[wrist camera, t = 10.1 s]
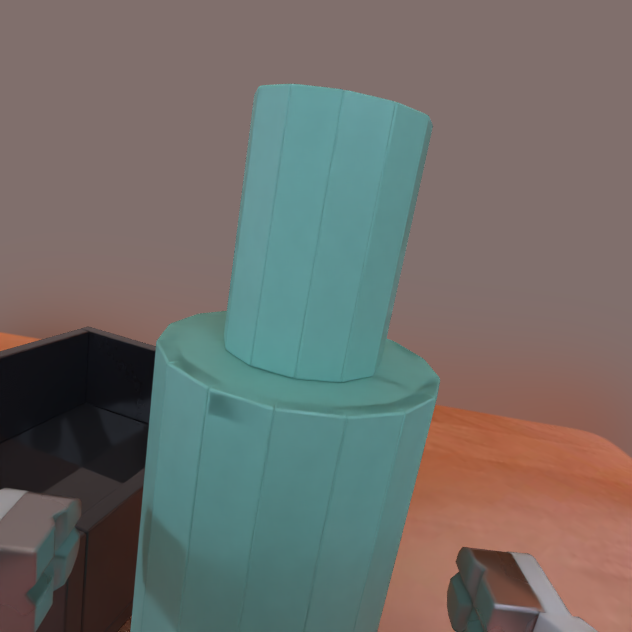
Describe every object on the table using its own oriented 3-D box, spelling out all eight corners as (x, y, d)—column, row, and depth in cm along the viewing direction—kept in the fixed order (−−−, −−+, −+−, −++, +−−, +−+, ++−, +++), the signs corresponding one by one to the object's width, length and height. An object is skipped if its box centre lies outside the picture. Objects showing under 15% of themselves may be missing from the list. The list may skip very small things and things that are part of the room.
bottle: (274, 1043, 11) (521, 84, 6) (60, 896, 12) (105, 42, 7) (342, 759, 16) (496, 151, 11) (189, 683, 18) (265, 118, 13)
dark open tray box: (61, 697, 17) (68, 547, 15) (-210, 547, 20) (-228, 414, 19) (259, 466, 32) (273, 380, 31) (84, 405, 36) (88, 325, 34)
